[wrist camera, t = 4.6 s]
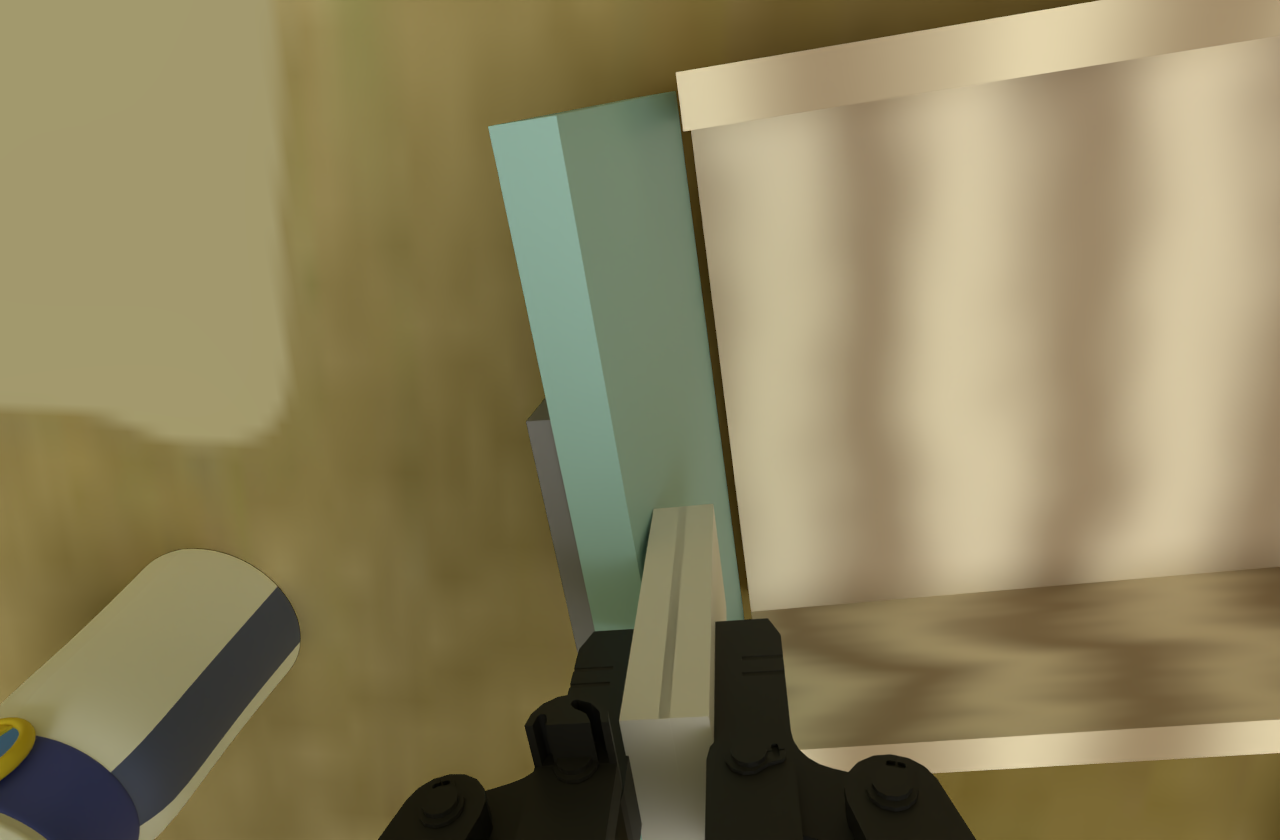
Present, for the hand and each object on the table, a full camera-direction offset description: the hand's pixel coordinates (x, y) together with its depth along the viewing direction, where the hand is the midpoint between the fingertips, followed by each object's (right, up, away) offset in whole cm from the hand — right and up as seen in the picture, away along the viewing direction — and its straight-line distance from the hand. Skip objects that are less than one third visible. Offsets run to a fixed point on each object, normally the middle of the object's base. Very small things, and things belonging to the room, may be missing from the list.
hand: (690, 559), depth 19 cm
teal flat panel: (0, +4, +9) cm, 10 cm away
